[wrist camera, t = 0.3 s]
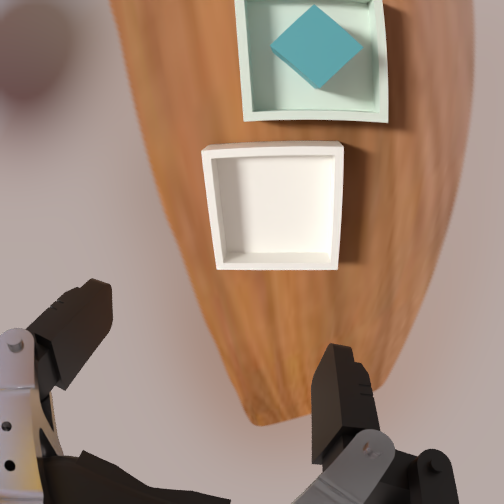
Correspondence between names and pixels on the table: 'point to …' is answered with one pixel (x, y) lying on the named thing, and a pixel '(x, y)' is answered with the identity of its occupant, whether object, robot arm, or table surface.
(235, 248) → the cream tray
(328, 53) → the teal cube
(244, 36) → the sage tray
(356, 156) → the table surface
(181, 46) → the table surface
